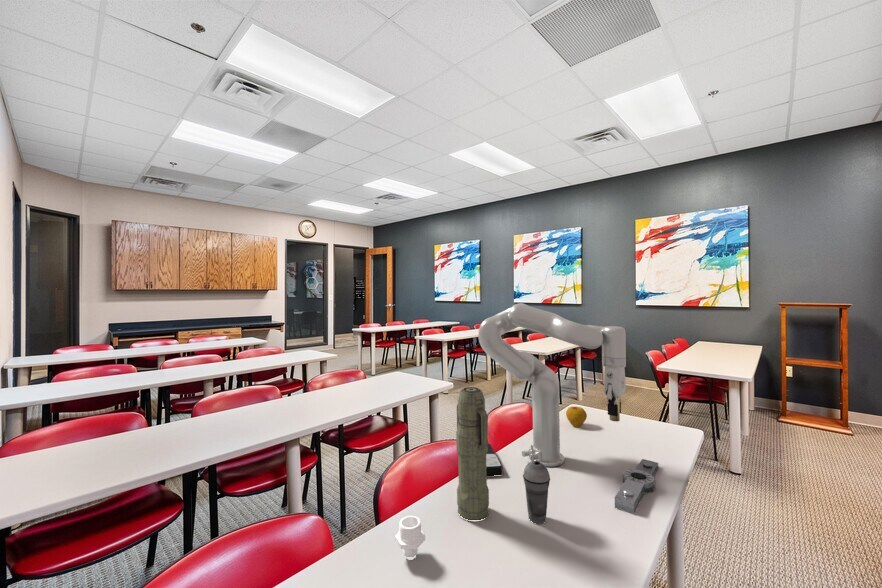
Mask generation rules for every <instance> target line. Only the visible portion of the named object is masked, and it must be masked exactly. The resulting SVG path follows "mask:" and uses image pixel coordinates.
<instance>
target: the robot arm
mask: <svg viewBox="0 0 882 588" xmlns="http://www.w3.org/2000/svg"><path fill="white" fill-rule="evenodd" d="M517 328H522V329H526V330H530V331H532V332H536V333H539V334H542V335H545V336H548V337H550V338H552V339H557V340H560V341H563V342H566V343H568V344H571V345H574V346H577V347H581V348H585V349H588V350H595V349H598V348H599V347H601V355H602V356H601V359H602V360H601V363H602V364H601V365H602V366H603V367H604V371H603V372H604V374H603V392H604V393H603V394H604V395H606V400H607V401H606V402H607V415H608V416H610V415H612V416H618V405H617V397H620V414H621V413H622V402H621V401H622V396H623V394H625V393H626V391H627V385H626V384H627V383H626V372H625V371H626V370H625V368H626V367H627V353H626V351H627V350H626V349H627V346H626V345H627V344H626V341H627V338H626V337H627V336H626V329H625V328H624V327H623V326H617V325H616V326H615V325H614V326H613V325H607V326H601V325H594V324H593V325H592V324H586V325H585V324H583V323H578V322H575V321H572V320H569V319H567V318H564V317H562V316H560V315H559V314H556V313H554V312H551V311H546V310H544V309H540V308H537V307H533V306H530V305H528V304H525V303H522V302H519V303H516V304H513V305H512V306H510V307H509V308H507V309H506V310H502V311H501V312H499V313H496V314H494V315H492V316H490V317H487V318H485V319H484V320H483V321H482V322H481V324H480V325H479V328H478V334H477V335H478V342H479V345H480V347H481V348H482V350H483V351H484V353H485V354H487V356H488V357H490V358H491V359H492V360H493V361H494V362H496V363H497V364H498V365H500V366H501V368H503V369H504V370H505V371H507V372H508V373H509V374H510V375H511V376H513V377H514V378H516V379H517V380H519V381H527V382H529V383H530V384H531V402H532V445H533V452H534V460H535V461H538V462H541V463H542V464H544V465H545V466H546V467H547V468H548V467H550V468H551V467H552V468H553V467H558V466H562V465H563V464H564V463H565V456H564V455H563V454H562V453H561V437H560V435H561V434H560V430H561V429H560V381H559V376H558V375H557V373H556V372H555V371H553V369H551V368H550V367H548V366H547V365H546V364H545V363H543V362H542V361H541V360H539V359H538V358H537V356H535V355H533V354H532V353H529V352H527V351H519V350H518V349H516V348H515V347H513V345H512V344H511V343H510V344H509V342H507V341H505V340H504V339H503V338H502V335H504V334H506V333H509V332H511V331H513V330H515V329H517ZM612 393H613V394H615V395H612ZM612 397H614V398H612ZM521 456H522V457H523V458H525V457H528V458H529V460H530V462H532V461H533V458H532V451H531V448H529V449H528V450H522V451H521Z"/></svg>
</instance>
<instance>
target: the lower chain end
mask: <svg viewBox="0 0 882 588" xmlns="http://www.w3.org/2000/svg"><path fill="white" fill-rule="evenodd" d="M658 468H659V462H657V461H652V460H648V459H645V458H642V459H641V460H640V462H639V463H638V465H637V467H636V468H635V470H640V471H644V472H647V473H649V474H650V475H652V476H653V477H654V478H655V474H656V472H657V471H658ZM633 478H635V479H639V480H644V479H643V478H639V477H633ZM624 482H625V480H624V479H623V478H622V483H623V484H624ZM655 489H656V483H655V484H654V486H653V487H650V488H645V489H644V494H650V493H653V492H655Z"/></svg>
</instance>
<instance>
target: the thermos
mask: <svg viewBox="0 0 882 588" xmlns="http://www.w3.org/2000/svg"><path fill="white" fill-rule="evenodd" d="M488 424H489V416H488V414H487V410H486V398H485V396H484V393H483V391H482V389H480V388H478V387H476V386H475V387H474V386H468V387H467V386H466V387H463V388H462V389H461V390H460V391H459V395H458V398H457V404H456V433H455V435H456V437H455V438H456V451H457V456H458V458H457V459H458V485H457V489H456V502H457V503H456V504H457V513H459V514H460V516H462V517H463V518H465V519H468V520H481V519H484V518H486V517H487V515H488V516H489V513H488V512H489V506H490V505H489V504H490V495H489V494H490V489H489V487H488V484H487V483H488V482H487V481H488V480H487V478H488V477H487V472H486V454H487V452H488V444H489V441H488V440H489V438H488V435H489V434H488V432H489V431H488V430H489V429H488V428H489V425H488ZM460 516H459V517H460ZM487 518H488V517H487ZM487 518H486V519H487ZM484 520H485V519H484Z"/></svg>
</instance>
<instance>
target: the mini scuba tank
mask: <svg viewBox="0 0 882 588" xmlns="http://www.w3.org/2000/svg"><path fill="white" fill-rule="evenodd" d="M530 449H531V451H532V458H533V461H530V462H528V463H527V464H526V465H525V466H524V467H525V468H524V470H523V474H522V478H523V483H524V489H525V497H526V499H525V500H526V506H527V507H526V508H527V513H528V520H529V519H530V520H529V522H531V521H532V522H533V524H534V523H536V524H535V525H543V524H545V523H546V520H547V519H546V518H547V513H548V512H547V510H548V498H549V488H550V482H551V476H550V472H549V469H548V467H547V466H545V465H544V464H542V463H541V462H538V461H535V460H534V452H533V444H531V445H530ZM532 522H531V523H532ZM544 522H545V523H544Z"/></svg>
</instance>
